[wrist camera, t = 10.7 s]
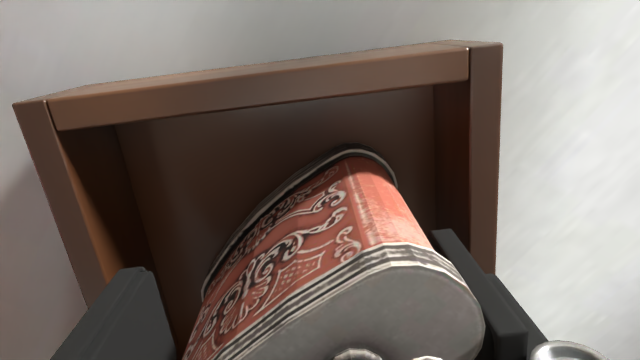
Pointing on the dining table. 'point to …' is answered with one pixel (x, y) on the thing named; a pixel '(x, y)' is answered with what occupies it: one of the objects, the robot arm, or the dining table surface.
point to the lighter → (335, 275)
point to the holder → (259, 155)
